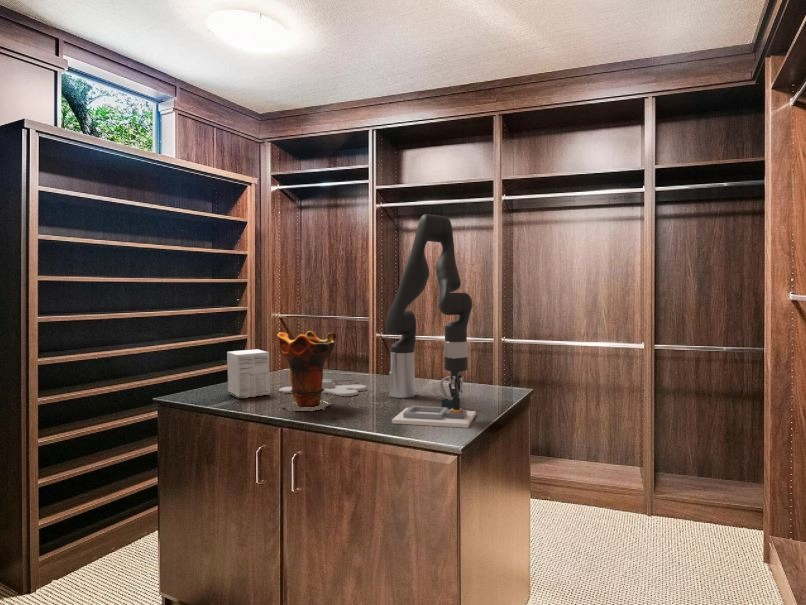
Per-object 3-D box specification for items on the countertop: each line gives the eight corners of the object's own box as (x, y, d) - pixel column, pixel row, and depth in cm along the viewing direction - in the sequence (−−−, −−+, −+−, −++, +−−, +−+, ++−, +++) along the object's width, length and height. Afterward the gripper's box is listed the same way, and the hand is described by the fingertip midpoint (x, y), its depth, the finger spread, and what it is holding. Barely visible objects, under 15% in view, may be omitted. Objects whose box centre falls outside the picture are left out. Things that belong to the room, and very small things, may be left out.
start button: (450, 416, 178) (450, 409, 178) (452, 413, 181) (452, 407, 181) (460, 416, 178) (460, 410, 178) (461, 414, 180) (461, 408, 180)
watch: (458, 410, 193) (457, 378, 192) (437, 408, 197) (436, 377, 196) (464, 407, 198) (464, 376, 197) (443, 405, 202) (443, 374, 201)
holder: (352, 398, 217) (352, 385, 217) (274, 394, 227) (274, 382, 226) (370, 389, 235) (369, 377, 235) (296, 386, 245) (296, 374, 245)
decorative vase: (348, 399, 211) (345, 325, 208) (319, 417, 189) (315, 335, 187) (300, 396, 218) (296, 325, 215) (266, 413, 196) (261, 334, 194)
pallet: (392, 423, 176) (391, 414, 176) (406, 411, 193) (406, 403, 193) (467, 427, 170) (467, 418, 170) (475, 414, 186) (475, 406, 186)
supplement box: (270, 395, 223) (269, 351, 222) (237, 400, 215) (236, 354, 214) (259, 390, 234) (258, 348, 233) (227, 394, 226) (226, 351, 225)
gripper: (448, 352, 186) (448, 404, 187) (440, 357, 173) (440, 413, 174) (470, 352, 184) (471, 405, 185) (464, 358, 171) (464, 414, 172)
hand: (456, 409), depth 179 cm, fingers closed
